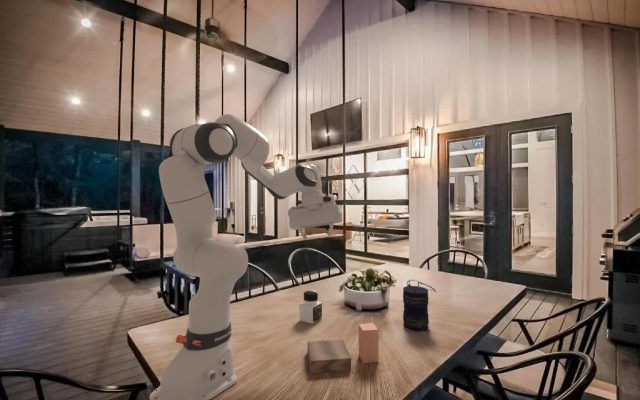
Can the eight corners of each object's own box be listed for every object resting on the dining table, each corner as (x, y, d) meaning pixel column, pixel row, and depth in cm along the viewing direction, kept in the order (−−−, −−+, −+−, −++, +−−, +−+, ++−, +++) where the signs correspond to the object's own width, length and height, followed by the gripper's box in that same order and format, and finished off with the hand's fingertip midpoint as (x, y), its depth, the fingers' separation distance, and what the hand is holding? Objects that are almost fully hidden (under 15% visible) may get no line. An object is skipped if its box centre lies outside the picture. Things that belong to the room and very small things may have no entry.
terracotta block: (378, 361, 90) (378, 329, 90) (362, 362, 89) (362, 330, 90) (373, 353, 95) (373, 323, 95) (358, 354, 94) (358, 323, 95)
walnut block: (310, 374, 84) (310, 360, 84) (307, 353, 96) (307, 341, 96) (351, 371, 85) (351, 358, 86) (343, 351, 97) (342, 339, 97)
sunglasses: (414, 286, 175) (414, 277, 175) (438, 294, 164) (438, 285, 164) (401, 290, 166) (402, 282, 165) (426, 299, 155) (426, 290, 154)
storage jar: (405, 320, 123) (405, 284, 123) (430, 324, 118) (429, 287, 119) (401, 329, 114) (400, 291, 114) (427, 333, 109) (427, 294, 110)
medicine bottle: (313, 324, 118) (313, 295, 119) (299, 320, 122) (299, 292, 122) (322, 318, 124) (322, 290, 125) (308, 315, 128) (308, 288, 128)
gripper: (285, 204, 112) (288, 239, 107) (337, 196, 111) (343, 230, 105) (289, 210, 118) (292, 243, 113) (338, 202, 116) (344, 235, 111)
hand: (317, 237), depth 109 cm, fingers open, 8 cm apart
